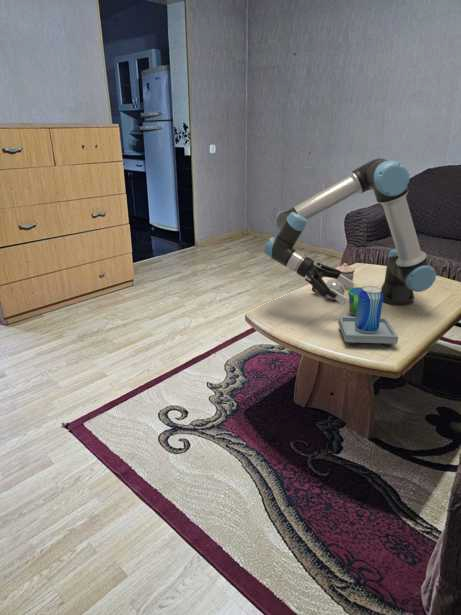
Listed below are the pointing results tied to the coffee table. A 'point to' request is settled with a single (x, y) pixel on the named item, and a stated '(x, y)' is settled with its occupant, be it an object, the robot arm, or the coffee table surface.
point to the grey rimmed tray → (380, 336)
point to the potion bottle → (335, 286)
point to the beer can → (369, 309)
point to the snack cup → (353, 299)
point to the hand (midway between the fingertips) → (348, 293)
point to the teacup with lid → (346, 272)
